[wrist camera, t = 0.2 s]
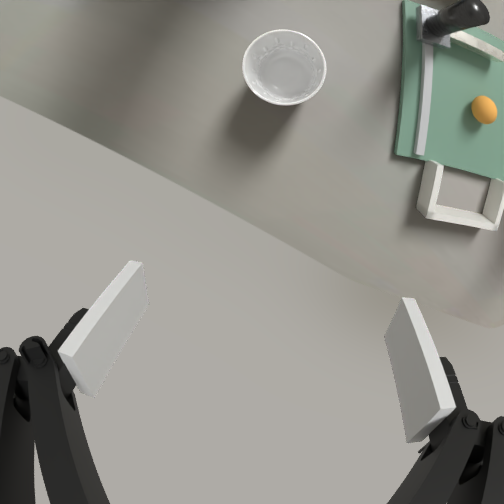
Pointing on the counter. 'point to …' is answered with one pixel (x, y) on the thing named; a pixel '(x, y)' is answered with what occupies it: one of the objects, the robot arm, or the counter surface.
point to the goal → (497, 200)
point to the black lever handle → (455, 27)
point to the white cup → (284, 67)
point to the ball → (484, 109)
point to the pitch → (449, 103)
